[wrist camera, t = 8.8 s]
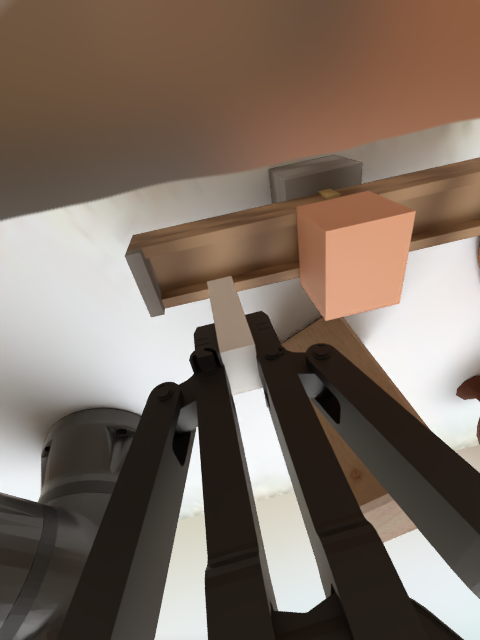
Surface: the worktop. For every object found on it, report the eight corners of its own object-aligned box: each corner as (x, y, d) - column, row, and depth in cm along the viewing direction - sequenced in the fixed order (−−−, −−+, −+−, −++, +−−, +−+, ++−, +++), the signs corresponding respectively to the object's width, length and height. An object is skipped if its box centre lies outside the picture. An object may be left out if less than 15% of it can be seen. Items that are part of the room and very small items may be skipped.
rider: (295, 277, 24) (325, 320, 19) (291, 202, 21) (325, 231, 16) (354, 263, 24) (399, 303, 19) (359, 187, 21) (415, 210, 16)
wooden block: (266, 349, 38) (327, 524, 22) (333, 305, 36) (458, 464, 20) (303, 387, 44) (374, 550, 28) (363, 350, 41) (481, 505, 25)
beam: (163, 279, 30) (157, 332, 23) (133, 198, 26) (115, 233, 18) (443, 215, 31) (522, 247, 24) (463, 126, 27) (569, 132, 19)
